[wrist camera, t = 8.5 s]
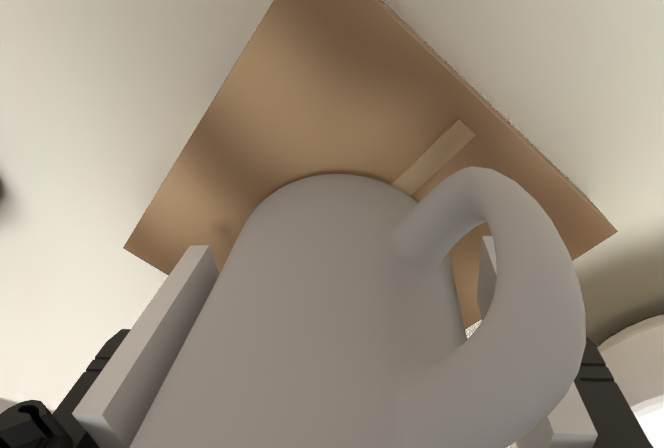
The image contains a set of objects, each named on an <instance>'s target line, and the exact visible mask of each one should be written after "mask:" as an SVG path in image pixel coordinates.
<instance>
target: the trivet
mask: <svg viewBox="0 0 664 448" xmlns="http://www.w3.org/2000/svg"><path fill="white" fill-rule="evenodd" d="M471 166H473V167H481V168H488V169H493V170H495V171H497V172H499V173H501V174H502V175H504V176H506V177H508V178H510V179H512V180H514V181H515V182H516V183H518V184H519V185H520V186H521V187H522V188H523V189H524V190H525V191H526V192H528V193H529V194H530V195H531V196H532V197H533V198H534V199H535V200H536V201H537V202H538V203H539V205H540V206H541V207H542V208H543V210H544V211H545V212H546V214H547V215H548V216H549V217H550V219H551V220H552V222H553V224H554V226H555V228H556V229H557V231H558V233H559V235H560V237H561V239H562V240H563V242H564V244H565V246H566V248H567V250H568V252H569V254H570V257H571V260H572V261H573V260H574V259H576V258H577V257H579V256H581V255H582V254H584V253H585V252H587V251H588V250H590V249H591V248H593V247H595V246H596V245H598V244H599V243H601V242H602V241H604V240H605V239H607V238H609V237H610V236H612V235H613V234H615V233H616V232H618V231H617V230H616V229H615V228H614V227H613V226H612V224H611V223H610V222H609V221H608V220H607V219H606V218H605V217H604V215H603V214H602V213H601V212H600V211H599V210H598V209H597V208H596V206H595V205H594V204H593V203H592V202H591V201H590V200H589V198H587V197H586V196H585V195H584V194H583V193H582V192H581V191H580V190H579V189H578V188H577V187H576V186H575V185H574V184H573V183H572V182H571V181H570V180H569V179H568V178H567V177H565V176H564V175H563V174H562V173H561V172H560V171H559V170H558V169H557V168H556V167H555V166H554V165H553V164H552V163H551V162H550V161H549V160H548V159H547V158H546V157H545V156H544V155H542V154H541V153H540V152H539V151H538V150H537V149H536V148H535V147H534V146H533V145H532V144H531V143H530V142H529V141H528V140H527V139H526V138H525V137H524V136H523V135H522V134H520V133H519V132H518V131H517V130H516V129H515V128H514V127H513V126H512V125H511V124H510V123H509V122H508V121H507V120H506V119H505V118H504V117H503V116H502V115H501V114H500V113H498V112H497V111H496V110H495V109H494V108H493V107H492V106H491V105H490V104H489V103H488V102H487V101H486V100H485V99H484V98H483V97H482V96H481V95H480V94H479V93H478V92H476V91H475V90H474V89H473V88H472V87H471V86H470V85H469V84H468V83H467V82H466V81H465V80H464V79H463V78H462V77H461V76H460V75H459V74H458V73H457V72H456V71H455V70H453V69H452V68H451V67H450V66H449V65H448V64H447V63H446V62H445V61H444V60H443V59H442V58H441V57H440V56H439V55H438V54H437V53H436V52H435V51H434V50H433V49H431V48H430V47H429V46H428V45H427V44H426V43H425V42H424V41H423V40H422V39H421V38H420V37H419V36H418V35H417V34H416V33H415V32H414V31H413V30H412V29H411V28H409V27H408V26H407V25H406V24H405V23H404V22H403V21H402V20H401V19H400V18H399V17H398V16H397V15H396V14H395V13H394V12H393V11H392V10H391V9H390V8H389V7H387V6H386V5H385V4H384V3H383V2H382V1H381V0H274V1H273V3H272V5H271V6H270V8H269V10H268V11H267V13H266V15H265V16H264V18H263V20H262V21H261V23H260V24H259V26H258V28H257V29H256V31H255V33H254V34H253V36H252V38H251V39H250V41H249V42H248V44H247V46H246V47H245V49H244V51H243V52H242V54H241V56H240V57H239V59H238V60H237V62H236V64H235V65H234V67H233V69H232V70H231V72H230V74H229V75H228V77H227V78H226V80H225V82H224V83H223V85H222V87H221V88H220V90H219V92H218V93H217V95H216V97H215V98H214V100H213V101H212V103H211V105H210V106H209V108H208V110H207V111H206V113H205V115H204V116H203V118H202V119H201V121H200V123H199V124H198V126H197V128H196V129H195V131H194V133H193V134H192V136H191V137H190V139H189V141H188V142H187V144H186V146H185V147H184V149H183V151H182V152H181V154H180V156H179V157H178V159H177V160H176V162H175V164H174V165H173V167H172V169H171V170H170V172H169V174H168V175H167V177H166V178H165V180H164V182H163V183H162V185H161V187H160V188H159V190H158V192H157V193H156V195H155V196H154V198H153V200H152V201H151V203H150V205H149V206H148V208H147V210H146V211H145V213H144V215H143V216H142V218H141V219H140V221H139V223H138V224H137V226H136V228H135V229H134V231H133V233H132V234H131V236H130V237H129V239H128V241H127V242H126V244H125V246H124V247H123V248H124V249H126V250H127V251H129V252H130V253H132V254H134V255H135V256H137V257H139V258H140V259H142V260H144V261H145V262H147V263H149V264H150V265H152V266H154V267H155V268H157V269H159V270H160V271H162V272H164V273H165V274H167V275H170V273H171V272H172V270H173V269H174V268H175V266H176V265H177V263H178V262H179V260H180V259H181V258H182V256H183V255H184V253H185V252H186V251H187V249H188V248H189V246H195V245H210V248H211V251H212V254H213V257H214V260H215V263H216V266H217V269H218V272H219V275H220V273H221V271H222V269H223V267H224V265H225V263H226V261H227V259H228V256H229V254H230V252H231V250H232V248H233V246H234V244H235V242H236V239H237V238H238V236H239V234H240V232H241V230H242V228H243V226H244V224H245V222H246V221H247V219H248V218H249V216H250V215H251V214H252V212H253V211H254V210H255V208H256V207H257V206H258V205H259V204H260V203H261V202H262V201H263V200H264V199H265V198H267V197H268V196H269V195H271V194H272V193H274V192H275V191H277V190H278V189H280V188H282V187H284V186H286V185H288V184H290V183H292V182H295V181H298V180H300V179H303V178H307V177H312V176H317V175H325V174H351V175H357V176H364V177H368V178H372V179H375V180H379V181H382V182H384V183H386V184H389V185H391V186H394V187H395V188H397V189H399V190H401V191H402V192H404V193H406V194H408V195H409V196H410V197H411V198H413V199H414V200H415V201H417V202H418V203H419V202H420V201H421V200H422V199H423V198H424V197H425V196H426V195H427V194H428V193H429V192H430V191H431V190H432V189H433V188H434V187H435V186H437V185H438V184H439V183H440V182H442V181H443V180H444V179H445V178H447V177H449V176H450V175H452V174H454V173H456V172H457V171H459V170H461V169H464V168H468V167H471ZM482 236H492V234H491V231H490V228H489V225H488V223H487V222H484V223H482V224H480V225H478V226H476V227H475V228H473V229H472V230H470V231H469V232H468V233H467V234H466V235H464V236H463V237H462V238H461V239H460V240H459V241H458V242H457V243H456V244H455V245H454V246H453V247H452V248H451V250H450V251H449V254H450V258H451V263H452V269H453V274H454V280H455V285H456V290H457V295H458V300H459V305H460V310H461V315H462V319H463V324H464V328H465V329H467V328H468V327H470V326H471V325H473V324H474V323H476V322H477V321H479V320H481V319H482V318H481V314H480V310H479V307H478V303H477V300H476V296H477V286H478V275H479V265H480V255H481V245H482Z"/></svg>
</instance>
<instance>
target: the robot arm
mask: <svg viewBox="0 0 664 448" xmlns="http://www.w3.org/2000/svg"><path fill="white" fill-rule="evenodd" d="M218 277H219V272H218V269H217V266H216V263H215V260H214V257H213V254H212V251H211V248H210V245H195V246H189V248H188V249H187V251H186V252H185V253H184V255H183V256H182V258H181V259H180V260H179V262H178V263H177V265H176V266H175V268H174V269H173V270H172V272H171V273H170V275H169V276H168V278H167V279H166V280H165V282H164V283H163V285H162V286H161V287H160V289H159V290H158V292H157V293H156V295H155V296H154V297H153V299H152V300H151V302H150V303H149V305H148V306H147V307H146V309H145V310H144V312H143V313H142V315H141V316H140V317H139V319H138V320H137V322H136V323H135V324H134V326H133V327H132V329H122V330H120V331H119V332H118V333H117V334H116V335H114V336H113V337H112V338H111V339H109V340H108V341H107V342H106V343H105V345H104V346H103V347H102V349H101V350H100V351H99V353H98V354H97V355H96V357H95V360H93V361H92V362H91V363H90V365H89V366H88V367H87V369H86V372H84V373H83V374H82V375H81V377H80V378H79V379H78V381H77V382H76V383H75V385H74V386H73V387H72V389H71V390H70V391H69V393H68V394H67V395H66V397H65V398H64V400H63V401H62V402H61V404H60V405H59V406H58V408H57V409H56V410H55V412H54V413H53V414H51V412H50V411H49V410H48V409H47V408H46V406H45V405H44V404H43V403H42V402H41V401H37V400H29V401H24V402H20V403H18V404H16V405H15V406H12V407H10V408H8V409H7V410H5V411H4V412H3V413H1V414H0V448H129V447H130V445H131V444H132V442H133V440H134V438H135V436H136V434H137V432H138V430H139V428H140V426H141V424H142V423H143V421H144V419H145V417H146V415H147V413H148V411H149V409H150V407H151V405H152V403H153V401H154V400H155V398H156V396H157V394H158V392H159V390H160V388H161V386H162V384H163V382H164V380H165V379H166V377H167V375H168V373H169V371H170V369H171V367H172V365H173V363H174V361H175V359H176V357H177V356H178V354H179V352H180V350H181V348H182V346H183V344H184V342H185V340H186V338H187V336H188V335H189V333H190V331H191V329H192V327H193V325H194V323H195V321H196V319H197V317H198V315H199V313H200V312H201V310H202V308H203V306H204V304H205V302H206V300H207V298H208V296H209V294H210V292H211V290H212V289H213V287H214V285H215V283H216V281H217V279H218ZM496 279H497V263H496V253H495V246H494V240H493V237H492V236H482V245H481V255H480V265H479V275H478V286H477V296H476V300H477V303H478V307H479V310H480V314H481V318H482V321H483V319H484V318H485V316H486V315H487V312H488V310H489V307H490V305H491V302H492V300H493V297H494V291H495V285H496ZM516 445H517V448H654V447H653V446H652V445H651V443H650V442H649V440H648V438H647V437H646V435H645V433H644V431H643V429H642V428H641V426H640V424H639V422H638V420H637V419H636V417H635V415H634V413H633V411H632V410H631V408H630V406H629V404H628V402H627V401H626V399H625V397H624V395H623V393H622V392H621V390H620V388H619V386H618V385H617V383H615V381H614V377H613V376H612V374H611V372H610V370H609V368H608V367H606V363H605V361H604V359H603V358H602V356H601V354H600V352H599V350H598V349H597V347H596V345H595V344H594V343H593V342H592V341H590V340H589V339H588V338H587V337H586V345H585V349H584V353H583V357H582V361H581V365H580V368H579V372H578V374H577V376H576V378H575V379H574V381H573V383H572V385H571V387H570V388H569V390H568V392H567V394H566V396H565V397H564V398H563V399H562V400H561V402H560V403H559V404H558V405H557V406H556V407H555V408H554V410H553V411H552V412H551V413H550V414H549V415H548V416H547V417H546V418H545V419H544V420H543V421H541V422H540V423H539V424H538V425H537V426H535V427H534V428H533V429H532V430H531V431H529V432H528V433H527V434H525V435H524V436H523V437H521V438H520V439H518V440H517V441H516Z"/></svg>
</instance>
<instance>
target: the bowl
mask: <svg viewBox="0 0 664 448" xmlns="http://www.w3.org/2000/svg"><path fill="white" fill-rule="evenodd" d="M597 349H598V350H599V352H600V354H601V356H602V358H603V359H604V361H605V363H606V367H608V368H609V370H610V372H611V374H612V376H613V377H614V381H615V383H617V385H618V386H619V388H620V390H621V392H622V393H623V395H624V397H625V399H626V401H627V402H628V404H629V406H630V408H631V410H632V411H633V413H634V415H635V417H636V419H637V420H638V422H639V424H640V426H641V428H642V429H643V431H644V433H645V435H646V437H647V438H648V440H649V442H650V443H651V445H652V446H653V447H654V448H664V314H662V315H659V316H655V317H652V318H648V319H646V320H643V321H641V322H639V323H636V324H634V325H632V326H629V327H627V328H625V329H623V330H622V331H620V332H618V333H617V334H615V335H613V336H611V337H610V338H608V339H607V340H606V341H605V342H603V343H602V344H601V345H600V346H598V347H597ZM510 448H517V445H516V442H514V443H513V444H511V445H510Z"/></svg>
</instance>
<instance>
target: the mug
mask: <svg viewBox="0 0 664 448" xmlns="http://www.w3.org/2000/svg"><path fill="white" fill-rule="evenodd" d="M484 222H487V223H488V225H489V228H490V231H491V234H492V237H493V240H494V246H495V253H496V263H497V279H496V285H495V291H494V297H493V300H492V302H491V305H490V307H489V310H488V312H487V315H486V316H485V318H484V319H483V321H482V322H481V324H480V325H479V327H478V328H477V330H476V331H475V332H474V333H473V334H472V335H471V336H470V337H469V339H468V340H467V337H466V333H465V328H464V324H463V319H462V315H461V310H460V305H459V300H458V295H457V290H456V285H455V280H454V274H453V269H452V263H451V258H450V254H449V251H450V250H451V248H452V247H453V246H454V245H455V244H456V243H457V242H458V241H459V240H460V239H461V238H462V237H463V236H464V235H466V234H467V233H468V232H469V231H470V230H472V229H473V228H475V227H476V226H478V225H480V224H482V223H484ZM585 345H586V311H585V306H584V301H583V297H582V292H581V287H580V282H579V279H578V276H577V273H576V271H575V268H574V265H573V263H572V260H571V257H570V254H569V252H568V250H567V248H566V246H565V244H564V242H563V240H562V239H561V237H560V235H559V233H558V231H557V229H556V228H555V226H554V224H553V222H552V220H551V219H550V217H549V216H548V215H547V214H546V212H545V211H544V210H543V208H542V207H541V206H540V205H539V203H538V202H537V201H536V200H535V199H534V198H533V197H532V196H531V195H530V194H529V193H528V192H526V191H525V190H524V189H523V188H522V187H521V186H520V185H519V184H518V183H516V182H515V181H514V180H512V179H510V178H508V177H506V176H504V175H502V174H501V173H499V172H497V171H495V170H493V169H488V168H481V167H473V166H471V167H468V168H464V169H461V170H459V171H457V172H456V173H454V174H452V175H450V176H449V177H447V178H445V179H444V180H443V181H442V182H440V183H439V184H438V185H437V186H435V187H434V188H433V189H432V190H431V191H430V192H429V193H428V194H427V195H426V196H425V197H424V198H423V199H422V200H421V201H420V202H419V203H418V202H417V201H415V200H414V199H413V198H411V197H410V196H409V195H408V194H406V193H404V192H402V191H401V190H399V189H397V188H395V187H394V186H391V185H389V184H386V183H384V182H382V181H379V180H375V179H372V178H368V177H364V176H357V175H351V174H325V175H317V176H312V177H307V178H303V179H300V180H298V181H295V182H292V183H290V184H288V185H286V186H284V187H282V188H280V189H278V190H277V191H275V192H274V193H272V194H271V195H269V196H268V197H267V198H265V199H264V200H263V201H262V202H261V203H260V204H259V205H258V206H257V207H256V208H255V210H254V211H253V212H252V214H251V215H250V216H249V218H248V219H247V221H246V222H245V224H244V226H243V228H242V230H241V232H240V234H239V236H238V238H237V239H236V242H235V244H234V246H233V248H232V250H231V252H230V254H229V256H228V259H227V261H226V263H225V265H224V267H223V269H222V271H221V273H220V275H219V277H218V279H217V281H216V283H215V285H214V287H213V289H212V290H211V292H210V294H209V296H208V298H207V300H206V302H205V304H204V306H203V308H202V310H201V312H200V313H199V315H198V317H197V319H196V321H195V323H194V325H193V327H192V329H191V331H190V333H189V335H188V336H187V338H186V340H185V342H184V344H183V346H182V348H181V350H180V352H179V354H178V356H177V357H176V359H175V361H174V363H173V365H172V367H171V369H170V371H169V373H168V375H167V377H166V379H165V380H164V382H163V384H162V386H161V388H160V390H159V392H158V394H157V396H156V398H155V400H154V401H153V403H152V405H151V407H150V409H149V411H148V413H147V415H146V417H145V419H144V421H143V423H142V424H141V426H140V428H139V430H138V432H137V434H136V436H135V438H134V440H133V442H132V444H131V445H130V447H129V448H507V447H508V446H510V445H511V444H513V443H514V442H516V441H517V440H518V439H520V438H521V437H523V436H524V435H525V434H527V433H528V432H529V431H531V430H532V429H533V428H534V427H535V426H537V425H538V424H539V423H540V422H541V421H543V420H544V419H545V418H546V417H547V416H548V415H549V414H550V413H551V412H552V411H553V410H554V408H555V407H556V406H557V405H558V404H559V403H560V402H561V400H562V399H563V398H564V397H565V396H566V394H567V392H568V390H569V388H570V387H571V385H572V383H573V381H574V379H575V378H576V376H577V374H578V372H579V368H580V365H581V361H582V357H583V353H584V349H585Z"/></svg>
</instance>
